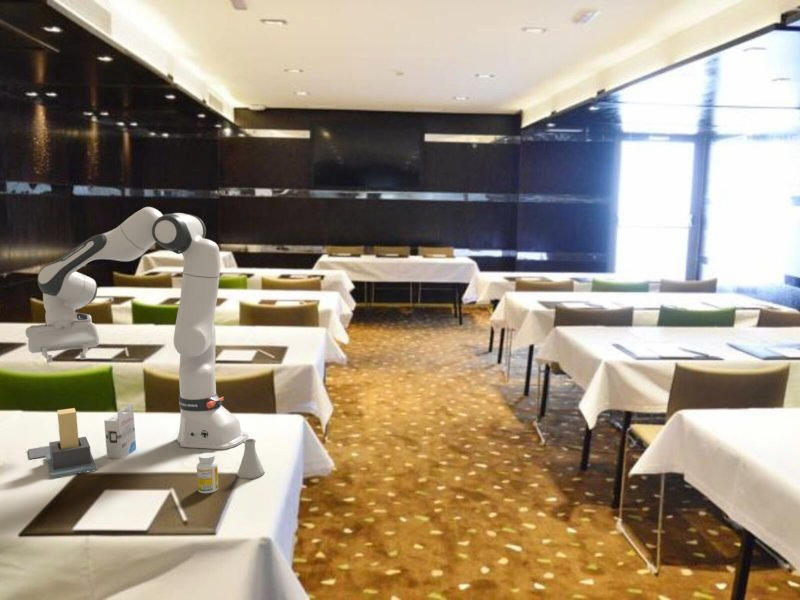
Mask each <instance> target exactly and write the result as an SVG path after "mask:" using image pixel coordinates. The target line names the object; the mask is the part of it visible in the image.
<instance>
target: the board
mask: <svg viewBox="0 0 800 600" xmlns="http://www.w3.org/2000/svg"><path fill="white" fill-rule="evenodd" d="M45 459H46V463H47V466H48V467H47V469H48V471H49V477H50V479H56V478H57V479H58V478H62V477H66V476H73V475H74V476H75V475H77V474H76V473H79V472H85V473H88V472H87V471H91V472H94V471H93V470H96V471H98V466H97V464H96V461H95V459H94V457H93V454H92V453H91V463H89V464H84V465H78V466H72V467H66V468H61V469H55V470H53V466H52V462H51V458H50V454H49V455H46V457H45ZM79 474H80V473H79Z"/></svg>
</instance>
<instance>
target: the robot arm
mask: <svg viewBox="0 0 800 600" xmlns="http://www.w3.org/2000/svg"><path fill="white" fill-rule="evenodd" d="M206 235H207V228H206V224H205V223H204V221H203V220H202V219H201V218H199V216H196V215H194V214H191V213H184V212H183V213H182V212H174V213H166V214H163V213H162V212H161V211H159V210H158V209H156V208H154V207H151V206H146V207H145V206H144V207H143V208H141V209H140V210H138V211H136V212H134V213H133V214H132V215H131V216H129V217H127V219H125V220H124V221H123V222H122V223H120V224H119V225H118V226H117V227H116V228H113V229H112V230H108V231H107V232H104V233H101V234H95V235H93V236H91V237H90V238H88V239H86V240H85V241H83V242H82V243H80V244H78V245H77V246H76V247H74V248H73V249H72V250H70V251H69V252H67V253H66V254H64V255H63V256H61V257H60V258H58V259H56V260H54V261H51V262H50V263H47V264H46V265H45V266H43V267H42V268H41V269H40V270H39V272H38V274H37V279H36V280H37V285H38V287H39V289H40V291H41V293H42V300H43V303H42V304H43V309H45V314H44V316H45V323H44V324H36V325H35V324H32V325H30V326H29V327H27V328H26V329H25V336H26V337H27V338H28V339H27V340H28V341H27V342H28V343H27V345H28V347H27V349H28V351H29V352H30V353H31V354H37V353H41V355H42V356H43V357H44V358H45V359H46V363H53V355H52V354H49V352H57V351H58V352H59V351H66V350H78V349H82V351H80V352H79V359H80V360H86V358H87V356H86V354H87V352H88V350H89V348H97V347H98V346H99V345H100V335H99V332H98V329H97V326H96V324H95V323H93V322H92V321H93V320H92V316H91V315H90V314H87V313H81V312H77V311H76V310H81V309H82V308H84V307H87V306H88V305H90V304H91V303H92V302H94V300H95V299H96V298H97V294H98V285H97V282H96V280H95V279H94V278H92V277H90V276H87V275H86V274H83V273H81V272H78V270H79V269H81V268H82V267H84V266H85V265H87V264H88V263H90V262H92V261H95V260H96V261H97V260H111V261H118V262H131V261H135V260H137V259H138V258H140V257H141V256H143V255H144V254H145V253H146V252H147V251H148V250H149V249H150V248H151V247H152V246H153V245H154V244H157V245H159V246H160V247H161V248H164V249H166V250H168V251H170V252H173V253H174V254H177V255H180V254H181V255H182V257H183V269H182V280H181V288H180V299H179V303H178V308H177V314H176V320H175V326H174V332H173V346H174V349H175V351H176V352H177V353H178V354H179V367H178V380H179V382H178V383H179V396H178V405H179V406H178V407H179V410H180V420H179V429H178V433H177V434H178V435H177V442H178V443H179V446H180V447H181V448H195V449H213V450H227V449H230V448H234V447H236V446H239V445H240V444H242V443H244V442H243V441H244V440H246V439H249V433H248V432H245V431H242V429H241V424H240V421H239V418H238V417H237V416H235V415H234V414H232V413H231V412H230V411H229V410H228V409H226V408H225V407H224V405H222V401H224V400H225V399H224V398H225V397H224V396H222V397H220V396H219V394H218V393H217V385H216V382H217V381H216V327H215V324H214V318H215V312H216V307H217V303H218V294H219V284H220V275H221V254H220V248H219V246H218V244H217V243H216V242H215V241H213V240H211V239H208V238H205V237H206Z"/></svg>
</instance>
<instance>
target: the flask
mask: <svg viewBox="0 0 800 600" xmlns="http://www.w3.org/2000/svg"><path fill="white" fill-rule="evenodd" d="M256 442H257V440H256V439H255V438H247V439H246V440H244V441H243V442H242V443H244V450H243V455H242V459H241V463H240V465H239V468H238V471H237V473H236V476H238V477H240V478H241V479H247V480H248V479H249V480H252V479H256V478H259V477H261V476H263V475H264V474H265V473H266V472H265V469H264V468H263V465H262V463H261V460H260V458H259V455H258V453H257V450H256V449H257V448H256Z"/></svg>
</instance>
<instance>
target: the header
mask: <svg viewBox="0 0 800 600" xmlns="http://www.w3.org/2000/svg"><path fill="white" fill-rule="evenodd" d="M78 441H79V446H77V447H71V448H65V449H61V448H60V440H57V441H56V440H55V441H50V442H49V443H48V446H50V458H51V462H52V466H53V470H55V469H61V468H66V467H72V466H78V465H84V464H89V463H91V454H92V452H91V446H90V443H89V440H88V439H87V436H82V437H81V436H80V437H78Z"/></svg>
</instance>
